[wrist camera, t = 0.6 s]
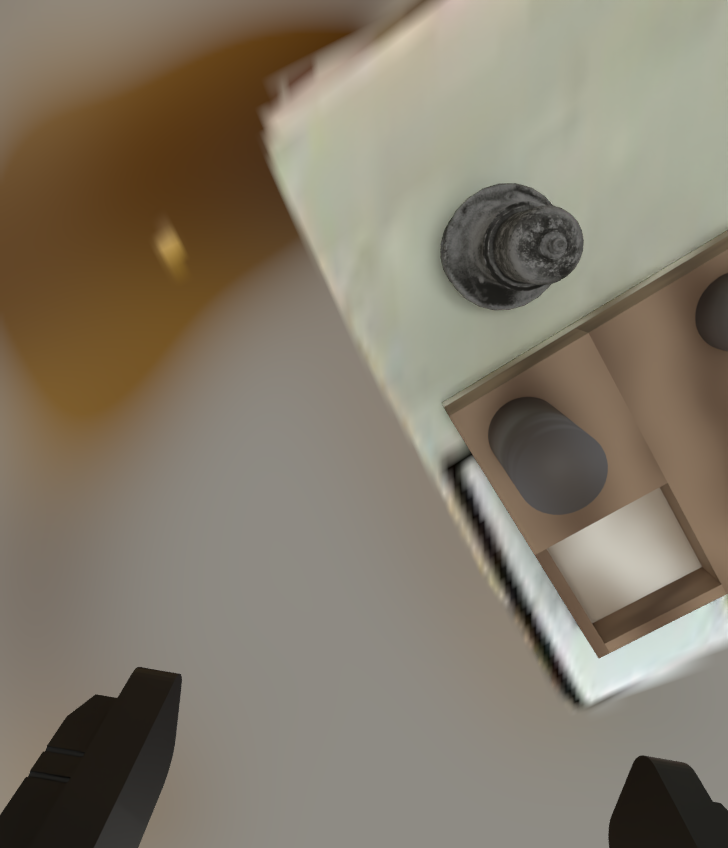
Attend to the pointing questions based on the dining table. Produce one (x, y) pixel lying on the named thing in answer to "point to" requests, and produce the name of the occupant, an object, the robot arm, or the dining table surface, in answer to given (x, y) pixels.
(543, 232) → the grey chess piece
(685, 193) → the dining table surface
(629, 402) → the wooden peg stand
